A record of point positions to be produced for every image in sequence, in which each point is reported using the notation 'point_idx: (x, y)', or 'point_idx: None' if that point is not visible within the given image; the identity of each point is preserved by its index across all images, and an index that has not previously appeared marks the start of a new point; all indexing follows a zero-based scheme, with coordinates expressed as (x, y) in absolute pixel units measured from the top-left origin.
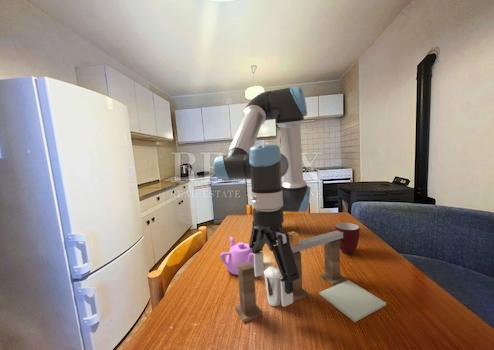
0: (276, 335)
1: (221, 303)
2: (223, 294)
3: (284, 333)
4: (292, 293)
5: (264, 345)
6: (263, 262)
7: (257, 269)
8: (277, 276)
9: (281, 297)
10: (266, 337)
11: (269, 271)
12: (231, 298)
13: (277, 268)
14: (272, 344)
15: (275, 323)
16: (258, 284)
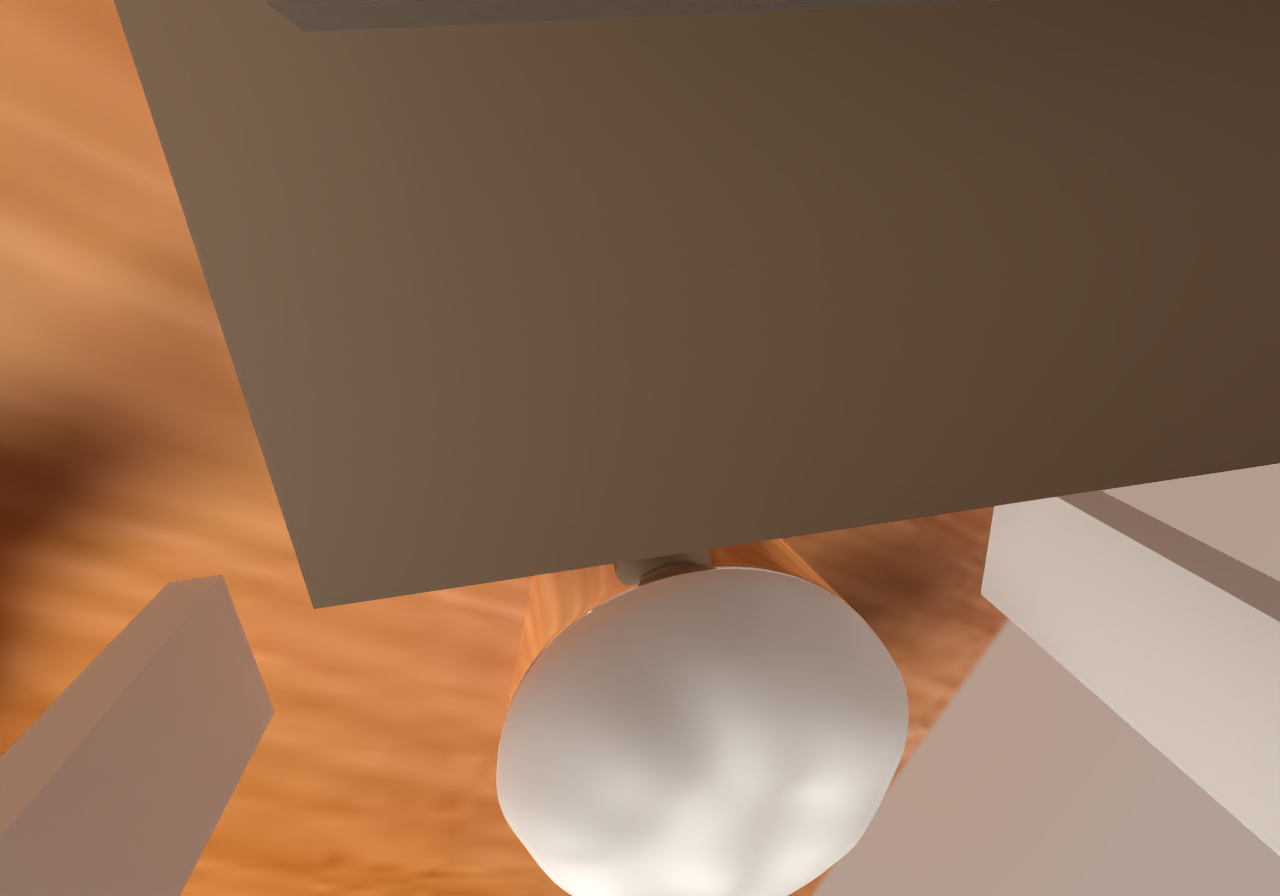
0: (950, 590)
1: (434, 881)
2: (302, 866)
3: (972, 531)
4: (1160, 526)
5: (964, 681)
6: (57, 779)
7: (202, 794)
8: (907, 731)
9: (1066, 660)
10: (923, 654)
11: (744, 883)
12: (392, 812)
13: (732, 707)
14: (989, 636)
15: (857, 557)
16: (209, 522)
